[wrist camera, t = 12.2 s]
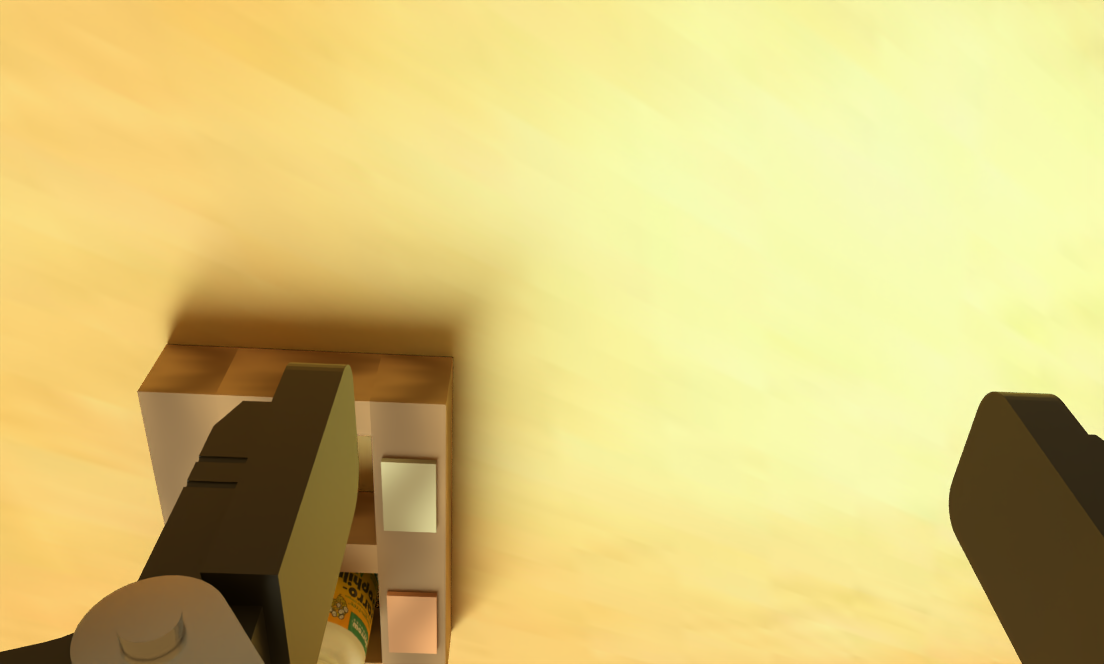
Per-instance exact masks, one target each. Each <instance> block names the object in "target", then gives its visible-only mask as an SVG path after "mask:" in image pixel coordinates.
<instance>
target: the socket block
mask: <svg viewBox="0 0 1104 664" xmlns="http://www.w3.org/2000/svg"><path fill="white" fill-rule="evenodd" d="M290 362H294V363H319V364H344V365H350V367H351V370H352V375H353V385H354V400H355V414H356V428H357V435H359V436H371V441H372V461H373V481H374V492H359V491H358V494H357V501H356V507H355V512H354V516H353V520H352V524H351V528H350V532H349V536H348V540H347V544H346V549H345V553H344V557H343V561H342V565H341V569H340V572H354V573H378V583H379V603H380V608H374V613H373V619H372V625H371V631H370V636H369V642H368V647H367V652H366V658H365V663H364V664H448V657H449V648H450V638H451V553H452V405H453V357H436V356H414V355H392V354H369V353H347V352H325V351H303V350H280V349H258V348H236V347H214V346H191V345H169V344H167V345H166V346H165V348H164V350H163V351H162V353H161V354H160V356H159V358H158V359H157V361H156V362H155V364H154V366H153V367H152V369H151V371H150V372H149V374H148V375H147V377H146V379H145V380H144V382H143V383H142V385H141V387H140V388H139V390H138V391H137V392H138V397H139V402H140V407H141V412H142V416H143V421H144V426H145V431H146V436H147V441H148V446H149V451H150V455H151V460H152V465H153V470H154V475H155V480H156V485H157V490H158V495H159V499H160V504H161V509H162V514H163V519H164V524H166V522H167V520H168V518H169V516H170V514H171V512H172V510H173V508H174V506H175V504H176V502H177V500H178V498H179V495H180V493H181V491H182V489H183V487H186V486H187V479H188V477H189V475H190V473H191V471H192V469H193V467H194V465H195V463H196V462H198V461H199V454H200V452H201V450H202V448H203V446H204V444H205V442H206V440H207V438H208V436H209V434H210V432H211V430H212V428H213V426H214V425H215V424H216V423H217V422H219V421H220V420H221V419H222V418H223V417H225V416H226V415H227V414H228V413H229V412H230V411H232V410H233V409H234V408H235V407H236V406H238V405H239V404H240V403H241V402H242V401H264V402H271V401H272V399H273V396H274V394H275V392H276V389H277V387H278V384H279V382H280V380H281V377H282V375H283V372H284V370H285V368H286V366H287V365H288V363H290Z"/></svg>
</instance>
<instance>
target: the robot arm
mask: <svg viewBox="0 0 1104 664" xmlns="http://www.w3.org/2000/svg"><path fill="white" fill-rule="evenodd" d="M358 482H359V457H358V443H357V428H356V414H355V400H354V385H353V375H352V370H351V367H350V365H344V364H319V363H294V362H290V363H288V365H287V366H286V368H285V370H284V372H283V375H282V377H281V380H280V382H279V384H278V387H277V389H276V392H275V394H274V396H273V399H272V401H271V402H264V401H242V402H241V403H240V404H239V405H238V406H236V407H235V408H234V409H233V410H232V411H230V412H229V413H228V414H227V415H226V416H225V417H223V418H222V419H221V420H220V421H219V422H217V423H216V424H215V425H214V426H213V428H212V430H211V432H210V434H209V436H208V438H207V440H206V442H205V444H204V446H203V448H202V450H201V452H200V454H199V461H198V462H196V463H195V465H194V467H193V469H192V471H191V473H190V475H189V477H188V479H187V486H186V487H183V489H182V491H181V493H180V495H179V498H178V500H177V502H176V504H175V506H174V508H173V510H172V512H171V514H170V516H169V518H168V520H167V522H166V524H165V526H164V528H163V530H162V532H161V534H160V537H159V539H158V541H157V543H156V545H155V547H154V549H153V551H152V553H151V555H150V557H149V559H148V561H147V563H146V565H145V567H144V569H143V571H142V573H141V576H140V578H139V579H138V581H137V582H134V583H131V584H128V585H126V586H124V587H122V588H120V589H118V590H116V591H114V592H113V593H111V594H109V595H108V596H106V597H105V598H103V599H102V600H101V601H100V602H98V603H97V604H96V605H95V606H93V607H92V608H91V610H90V611H89V612H88V613H87V614H86V615H85V616H84V617H83V619H82V620H81V622H80V623H79V624H78V626H77V628H76V630H75V632H74V633H72V634H70V635H67V636H64V637H62V638H58V639H55V640H51V641H47V642H43V643H39V644H34V645H30V646H25V647H21V648H16V649H12V650H7V651H3V652H0V664H317V661H318V657H319V653H320V649H321V645H322V641H323V637H324V633H325V629H326V625H327V621H328V617H329V613H330V609H331V605H332V601H333V597H334V593H335V589H336V585H337V581H338V577H339V573H340V569H341V565H342V561H343V557H344V553H345V549H346V544H347V540H348V536H349V532H350V528H351V524H352V520H353V516H354V512H355V507H356V501H357V494H358ZM949 514H950V520H951V524H952V528H953V531H954V533H955V535H956V537H957V539H958V541H959V543H960V545H961V547H962V549H963V551H964V553H965V555H966V557H967V558H968V560H969V562H970V564H971V566H972V568H973V570H974V572H975V574H976V576H977V578H978V580H979V582H980V583H981V585H982V587H983V589H984V591H985V593H986V595H987V597H988V599H989V601H990V603H991V605H992V607H993V609H994V610H995V612H996V614H997V616H998V618H999V620H1000V622H1001V624H1002V626H1003V628H1004V630H1005V632H1006V634H1007V635H1008V637H1009V639H1010V641H1011V643H1012V645H1013V647H1014V649H1015V651H1016V653H1017V655H1018V657H1019V659H1020V660H1021V662H1022V664H1104V440H1102V439H1101V438H1100V437H1098V436H1097V435H1088V433H1087V432H1086V431H1085V430H1084V428H1083V427H1082V426H1081V425H1080V423H1079V422H1078V421H1077V419H1076V418H1075V417H1074V416H1073V414H1072V413H1071V412H1070V411H1069V409H1068V408H1067V407H1066V406H1065V404H1064V403H1063V402H1062V401H1061V400H1060V399H1059V398H1058V397H1057V396H1055V395H1053V394H1040V393H1014V392H990V393H988V394H987V395H986V396H985V397H984V398H983V399H982V401H981V403H980V405H979V407H978V410H977V413H976V416H975V418H974V421H973V424H972V427H971V430H970V433H969V435H968V438H967V441H966V444H965V447H964V450H963V452H962V455H961V458H960V461H959V464H958V467H957V469H956V472H955V475H954V478H953V481H952V484H951V488H950V494H949Z"/></svg>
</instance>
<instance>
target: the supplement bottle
mask: <svg viewBox="0 0 1104 664" xmlns="http://www.w3.org/2000/svg"><path fill="white" fill-rule="evenodd" d="M378 585H379V583H378V573H354V572H340V573H339V577H338V581H337V585H336V589H335V593H334V597H333V601H332V605H331V609H330V613H329V617H328V621H327V625H326V629H325V633H324V637H323V641H322V645H321V649H320V653H319V657H318V661H317V664H364V663H365V658H366V652H367V647H368V642H369V636H370V631H371V625H372V619H373V613H374V608H375V602H376V596H377V591H378Z"/></svg>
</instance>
